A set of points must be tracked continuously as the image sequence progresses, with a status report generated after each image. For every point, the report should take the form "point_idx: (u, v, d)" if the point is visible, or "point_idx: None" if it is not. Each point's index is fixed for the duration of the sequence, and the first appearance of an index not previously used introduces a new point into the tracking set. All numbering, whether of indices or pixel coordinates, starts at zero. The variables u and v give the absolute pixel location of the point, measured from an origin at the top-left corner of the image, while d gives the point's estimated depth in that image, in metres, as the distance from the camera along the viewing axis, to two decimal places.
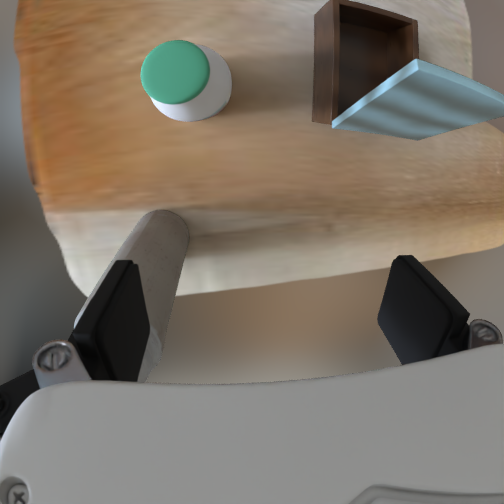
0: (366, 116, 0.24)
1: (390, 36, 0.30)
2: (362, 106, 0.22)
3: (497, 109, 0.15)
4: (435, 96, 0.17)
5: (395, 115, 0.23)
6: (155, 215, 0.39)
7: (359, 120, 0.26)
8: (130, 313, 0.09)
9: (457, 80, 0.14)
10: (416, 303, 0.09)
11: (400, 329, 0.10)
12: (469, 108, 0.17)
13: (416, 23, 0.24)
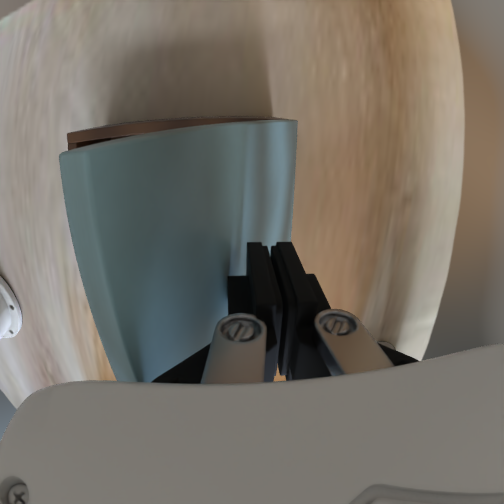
0: None
1: None
2: None
3: (149, 228, 0.06)
4: None
5: None
6: None
7: None
8: None
9: None
10: None
11: None
12: (196, 267, 0.08)
13: (72, 135, 0.18)
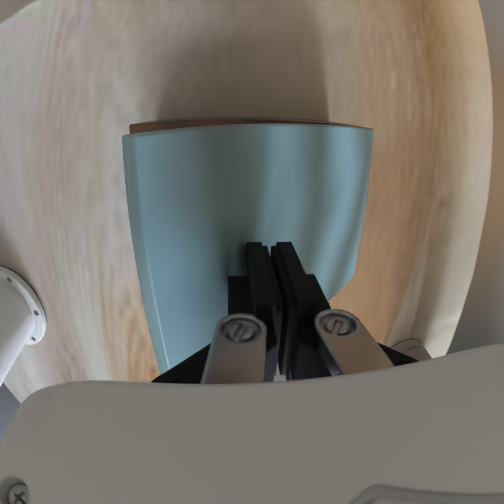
0: None
1: None
2: None
3: (185, 195, 0.08)
4: None
5: (312, 269, 0.16)
6: None
7: (332, 282, 0.19)
8: None
9: (166, 369, 0.10)
10: None
11: None
12: (230, 236, 0.10)
13: (136, 127, 0.17)
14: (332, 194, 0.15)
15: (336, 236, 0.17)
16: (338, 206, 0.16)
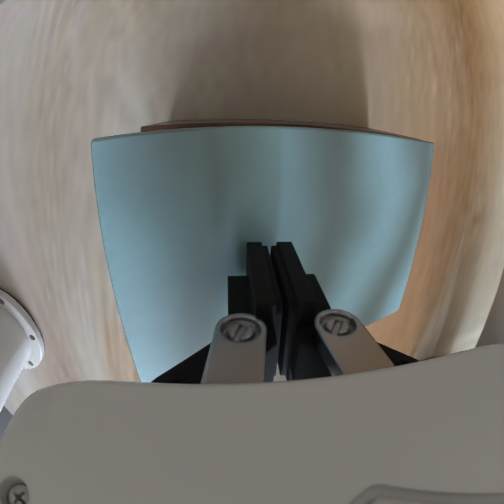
0: None
1: None
2: None
3: (142, 194, 0.09)
4: (203, 329, 0.12)
5: (328, 291, 0.14)
6: None
7: (363, 311, 0.17)
8: None
9: None
10: None
11: None
12: (200, 239, 0.10)
13: (149, 130, 0.14)
14: (362, 212, 0.13)
15: (369, 260, 0.15)
16: (373, 227, 0.14)
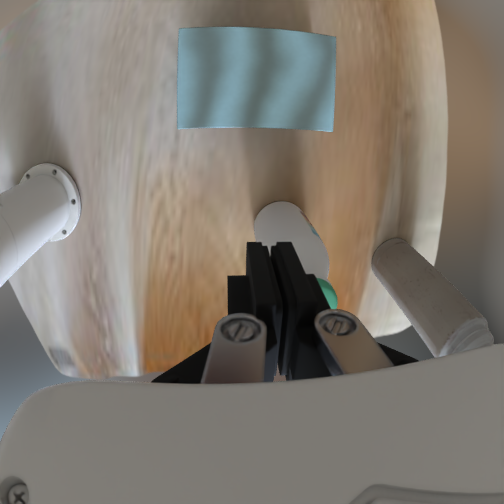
0: (282, 115, 0.29)
1: None
2: (261, 127, 0.30)
3: (192, 43, 0.25)
4: (207, 93, 0.28)
5: (269, 93, 0.28)
6: (377, 266, 0.46)
7: (297, 116, 0.30)
8: None
9: (177, 97, 0.28)
10: None
11: None
12: (209, 58, 0.26)
13: None
14: (283, 59, 0.27)
15: (294, 85, 0.28)
16: (292, 68, 0.27)
